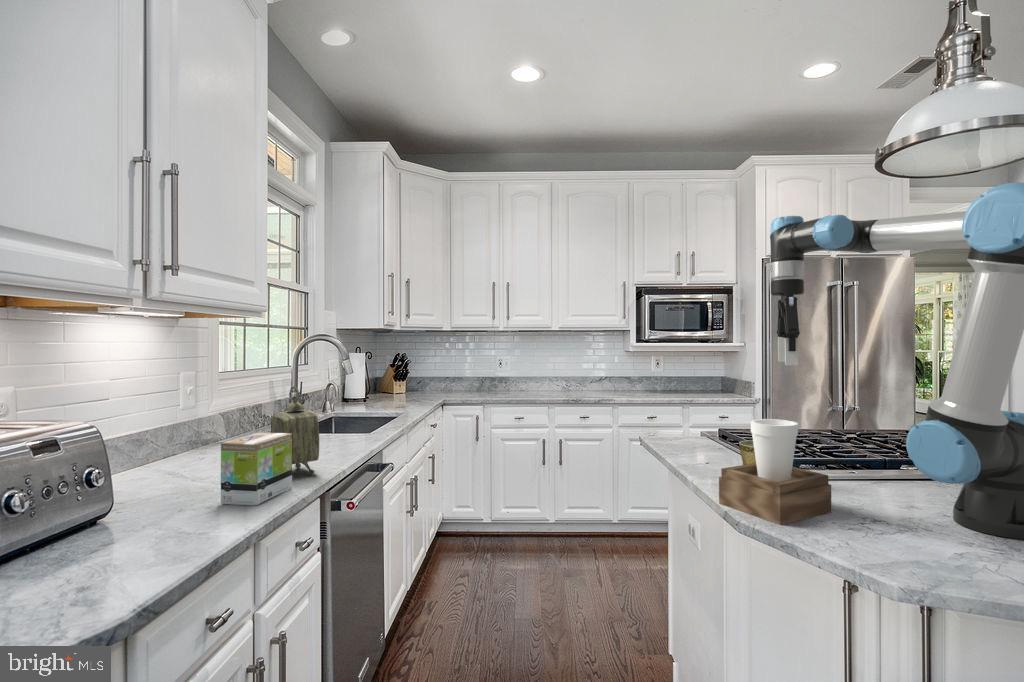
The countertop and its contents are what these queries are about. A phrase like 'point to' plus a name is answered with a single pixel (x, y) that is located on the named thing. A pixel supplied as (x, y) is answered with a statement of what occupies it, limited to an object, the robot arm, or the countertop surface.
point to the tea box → (255, 468)
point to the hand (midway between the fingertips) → (787, 363)
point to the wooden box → (775, 494)
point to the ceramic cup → (747, 452)
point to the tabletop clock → (299, 431)
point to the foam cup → (774, 447)
